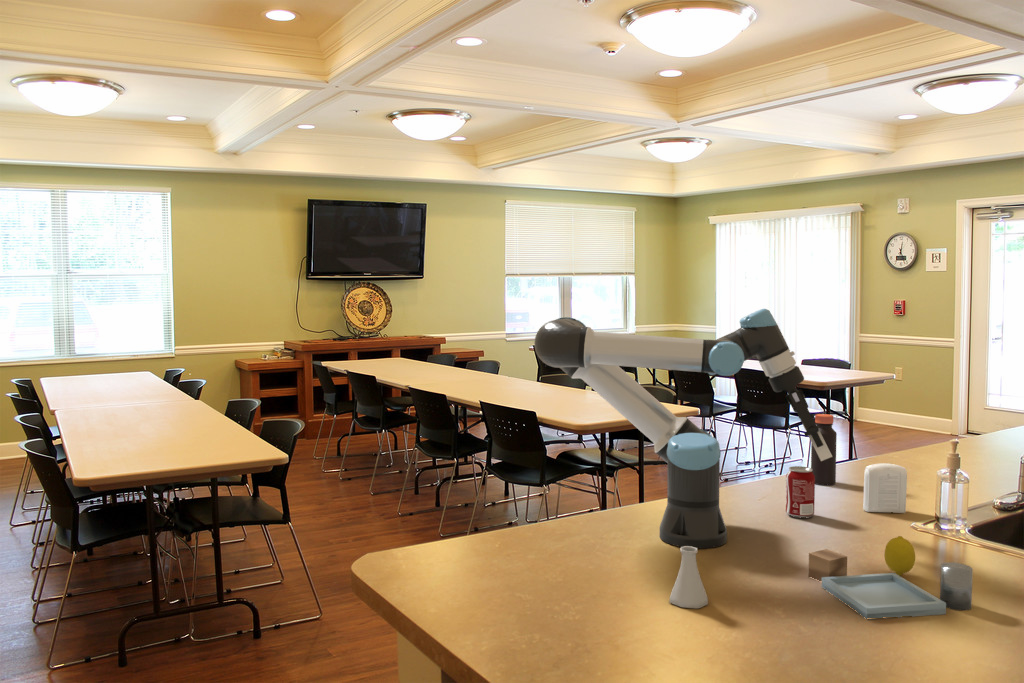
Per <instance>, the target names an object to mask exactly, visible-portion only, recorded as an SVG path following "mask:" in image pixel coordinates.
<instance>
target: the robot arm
mask: <svg viewBox="0 0 1024 683" xmlns="http://www.w3.org/2000/svg"><path fill="white" fill-rule="evenodd" d="M739 325H740V327H739V328H738V329H736V330H734V331H732V332H730V333H728V334H726V335H724V336H721V337H719V338H717V339H702V338H689V337H688V338H687V337H673V336H660V335H647V334H646V335H645V334H644V335H643V334H630V333H618V332H617V333H616V332H602V331H594V330H593V329H592V328H591V327H589V326H586V324H584V322H582V321H580V320H579V319H576V318H573V317H568V316H567V317H559V318H555V319H553V320H550V321H548V322H545V323H544V324H543V325H542V326H541V327H540V328H539V329H538V331H537V332H536V333H535V337H534V344H533V345H534V349H535V354H536V355H537V357H538V359H540V361H542V363H543V364H545V365H547V366H549V367H552V368H557V369H558V368H559V369H560V370H562V372H564V373H565V374H566V375H567V376H569V377H570V378H571V379H572V380H573V379H581V380H582V381H583V382H584V383H585V384H587V386H589V387H590V388H591V389H592V390H593V391H595V393H597V394H598V395H599V396H600V397H601V398H602V399H604V401H606V402H607V403H608V404H609V405H610V406H611V407H613V408H614V410H616V411H617V412H618V413H619V414H621V415H622V417H624V418H625V419H626V420H627V421H628V422H629V423H631V424H632V425H633V426H634V427H635V428H636V429H638V431H640V433H642V434H643V435H644V436H645V437H646V438H648V439H649V440H650V441H651V442H652V443H653V448H654V453H655V454H656V455H658V457H660V458H661V459H662V460H663V461H664V462H665V463H667V480H666V481H667V485H666V486H667V488H666V489H667V491H666V492H667V493H666V494H667V495H666V496H667V502H666V507H665V510H664V513H663V516H662V519H661V522H660V525H659V538H660V540H662V541H663V542H665V543H666V544H669V545H672V546H675V547H680V548H681V547H684V546H692V547H695V548H697V549H711V548H717V547H720V546H722V545H724V544H726V543H727V541H728V531H727V527H726V523H725V521H724V517H723V514H722V511H721V507H720V476H721V475H720V474H721V473H720V468H721V467H720V465H721V464H720V462H721V461H720V460H721V459H720V458H721V455H722V453H721V448H720V443H719V440H718V439H717V438H715V437H714V436H712V435H711V434H710V433H709V432H708V431H705V430H704V429H701V428H700V427H698V426H697V425H696V424H695V423H694V422H692V421H691V420H690V419H689V418H688V417H687V416H676V415H675V414H674V413H673V412H672V411H671V410H670V409H668V408H667V407H666V406H665V405H663V404H662V403H661V402H660V401H659V400H658V399H657V398H655V396H654V395H652V394H651V393H650V392H649V391H648V390H646V388H645V387H643V386H642V385H641V384H640V383H639V382H637V381H636V380H635V379H634V378H633V377H632V376H630V374H628V373H627V371H625V370H624V369H622V367H630V368H642V369H643V368H644V369H645V368H646V369H656V370H657V369H658V370H668V371H669V370H671V371H683V372H697V373H705V374H706V373H707V374H708V375H710V376H715V375H719V376H723V377H728V376H729V377H731V376H733V375H735V374H737V373H739V371H740V370H741V369H742V368H743V365H744V363H745V361H747V360H750V359H752V358H754V357H756V358H757V360H758V363H759V365H760V367H761V369H762V371H763V372H764V375H765V377H769V378H768V383H769V384H770V386H771V388H772V390H773V392H775V393H781V392H784V391H785V392H786V393H787V395H785V398H786V400H787V402H788V404H789V405H790V407H791V408H792V410H793V412H794V413H796V414H797V415H798V418H799V419H800V422H801V423H802V425H803V426H802V427H803V428H804V431H805V432H804V433H803V434H804V436H805V437H808V438H809V441H810V443H811V442H812V444H813V446H814V448H815V450H816V452H817V454H818V456H819V458H820V460H821V461H823V460H825V459H828V458H830V457H833V456H832V454H831V453H830V451H829V449H828V447H827V445H826V443H825V441H824V439H823V437H822V435H821V433H820V431H819V429H818V426H816V424H815V423H816V422H815V415H814V414H813V413H812V414H811V412H810V410H809V403H808V402H807V400H806V396H805V394H804V392H803V390H802V389H798V388H797V386H798V385H800V384H801V383H802V382H803V381H805V377H804V375H803V373H802V371H801V369H800V367H799V366H798V365H796V364H797V361H796V359H795V358H794V356H795V354H796V352H795V351H792V350H791V349H790V348H789V345H788V343H787V341H786V339H785V338H784V335H783V333H782V331H781V328H780V327H779V324H778V323H777V321H776V320H775V318H774V316H773V315H772V313H771V311H770V310H769V309H767V308H760V309H758V310H755V311H754V312H751V313H750V314H748V315H746V316H743V317H742V318H741V319H739Z"/></svg>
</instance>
